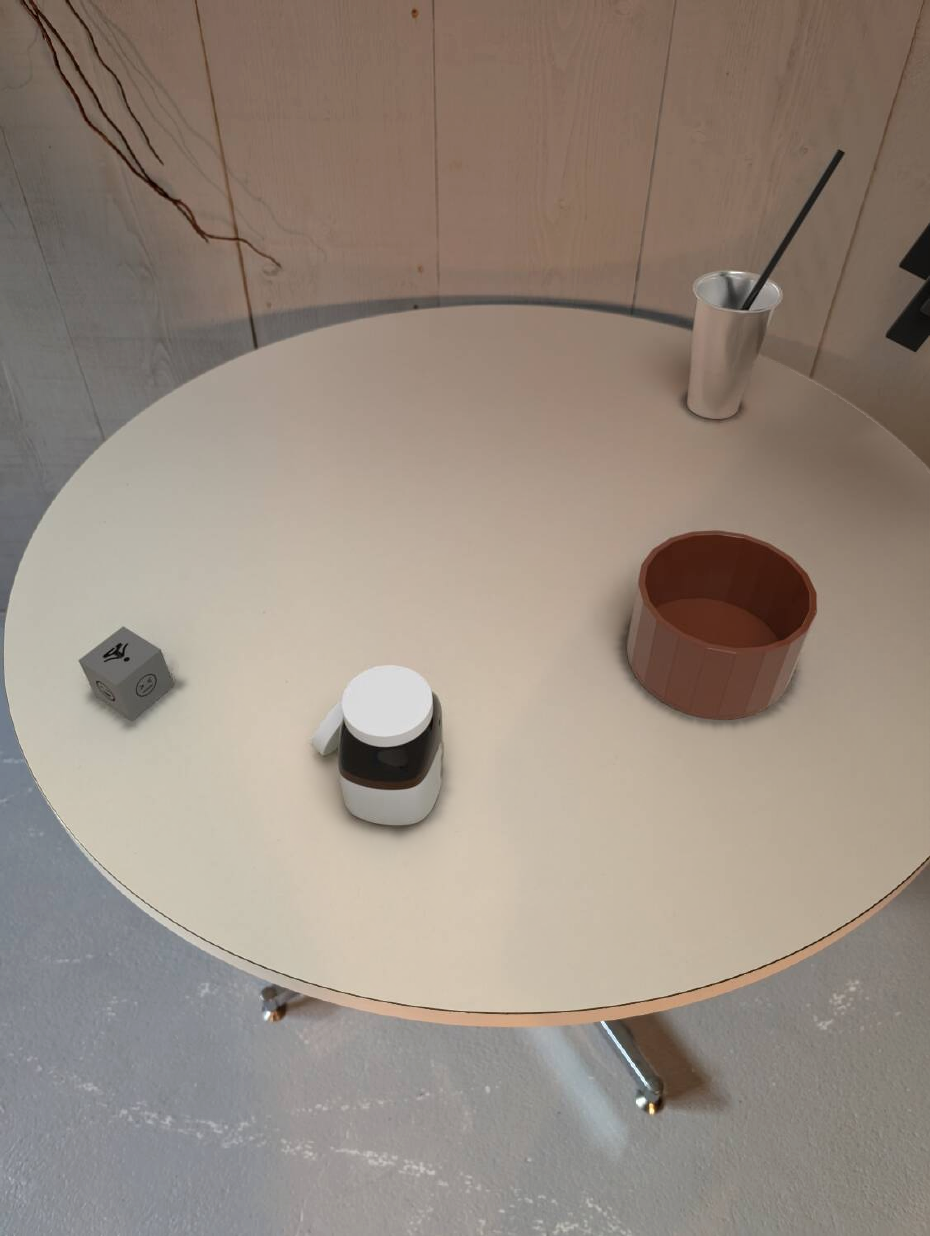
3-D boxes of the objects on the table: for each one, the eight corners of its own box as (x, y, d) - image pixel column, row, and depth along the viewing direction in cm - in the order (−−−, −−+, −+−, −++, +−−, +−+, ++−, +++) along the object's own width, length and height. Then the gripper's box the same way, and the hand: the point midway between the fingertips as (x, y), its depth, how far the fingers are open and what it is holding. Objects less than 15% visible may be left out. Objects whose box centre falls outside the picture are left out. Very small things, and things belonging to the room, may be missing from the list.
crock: (824, 689, 83) (854, 622, 76) (679, 740, 79) (698, 674, 73) (731, 582, 93) (751, 514, 86) (598, 623, 89) (608, 555, 82)
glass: (777, 399, 115) (847, 149, 94) (734, 440, 110) (798, 182, 88) (702, 370, 120) (752, 126, 99) (657, 407, 114) (699, 156, 93)
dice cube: (138, 662, 86) (123, 626, 82) (174, 685, 84) (160, 649, 80) (95, 696, 83) (78, 660, 79) (132, 721, 81) (116, 685, 77)
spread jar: (430, 845, 72) (424, 761, 64) (293, 825, 74) (269, 741, 65) (456, 725, 80) (453, 636, 72) (332, 709, 82) (315, 620, 73)
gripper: (1056, -25, 69) (880, 228, 85) (1069, 64, 53) (850, 354, 69) (1145, 19, 69) (952, 265, 85) (1186, 122, 53) (939, 400, 69)
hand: (906, 305), depth 77 cm, fingers open, 13 cm apart
